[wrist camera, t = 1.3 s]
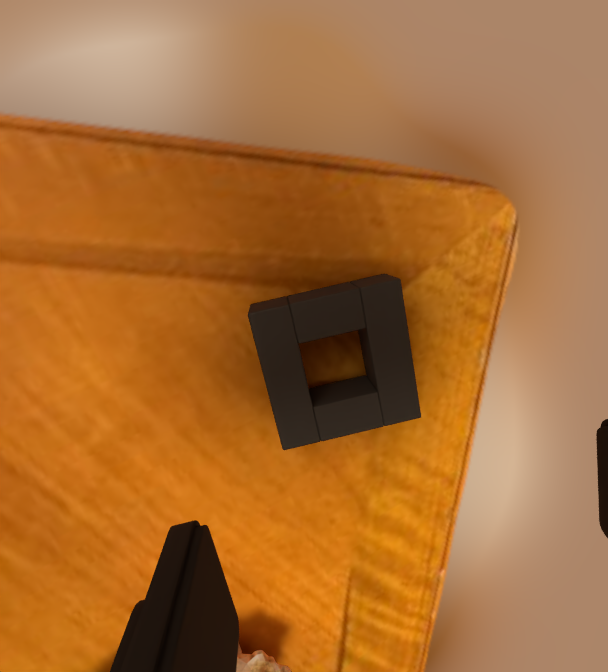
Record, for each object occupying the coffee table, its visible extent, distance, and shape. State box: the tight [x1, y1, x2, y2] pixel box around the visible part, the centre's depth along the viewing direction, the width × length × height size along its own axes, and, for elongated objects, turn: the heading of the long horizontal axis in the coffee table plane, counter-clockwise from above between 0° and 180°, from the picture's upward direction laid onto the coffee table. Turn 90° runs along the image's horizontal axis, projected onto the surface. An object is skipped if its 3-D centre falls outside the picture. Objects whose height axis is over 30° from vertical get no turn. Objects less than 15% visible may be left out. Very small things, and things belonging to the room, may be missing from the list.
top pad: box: [248, 274, 421, 450], centre depth 20 cm, size 7×7×2 cm
